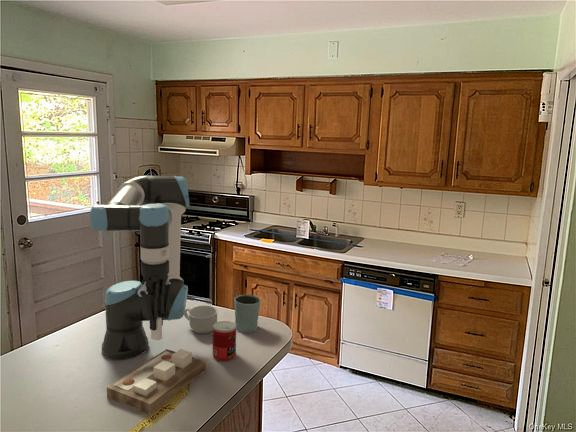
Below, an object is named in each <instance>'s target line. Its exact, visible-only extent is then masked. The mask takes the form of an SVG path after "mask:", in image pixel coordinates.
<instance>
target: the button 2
mask: <svg viewBox="0 0 576 432" xmlns="http://www.w3.org/2000/svg"><path fill="white" fill-rule="evenodd" d="M192 355H193V353H192V351H188V350H185V349H182V348H180V349H179V350H177V351H175V353H174V354H172V363H173V364H175V366H176V367H179V368H182V369H184V368H185V367H186V366H188V365H189V364H190V363H192V357H193V356H192Z"/></svg>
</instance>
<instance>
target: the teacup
mask: <svg viewBox="0 0 576 432" xmlns="http://www.w3.org/2000/svg"><path fill="white" fill-rule="evenodd" d="M183 317H184V318H186V320H187V321H188V322H189V327H190V329H191V330H192V331H193V332H194V333H197V334H202V335H205V334H208V333H211V332H213V325H214V324H215V323H216V322H218V309H217V308H216V307H215V306H212V305H207V304H205V305H197V306H194V307H192V308H190V307H185V312H184V315H183Z"/></svg>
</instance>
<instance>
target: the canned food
mask: <svg viewBox="0 0 576 432" xmlns="http://www.w3.org/2000/svg"><path fill="white" fill-rule="evenodd" d="M236 348H237V330H236V324H235V322H232V321H230V320H221V321H217V322H216V323H215V324H214V325H213V330H212V356H213V358H214V359H216V360H218V361H221V362H222V361H223V362H225V361H226V362H227V361H230V360H232V359H234V358H235V356H236V353H237V350H236Z"/></svg>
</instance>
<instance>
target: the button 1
mask: <svg viewBox="0 0 576 432" xmlns="http://www.w3.org/2000/svg"><path fill="white" fill-rule="evenodd" d="M156 388H157V382H156V381H153V380H150V379H147V378H143V379H142V380H141V381H139V382H138V383H136V384H135V385H133V390H134V392H135V393H138V394H141V395H143V396H147V395H148V394H150V393H151V392H152V391H154V390H155V389H156Z"/></svg>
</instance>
